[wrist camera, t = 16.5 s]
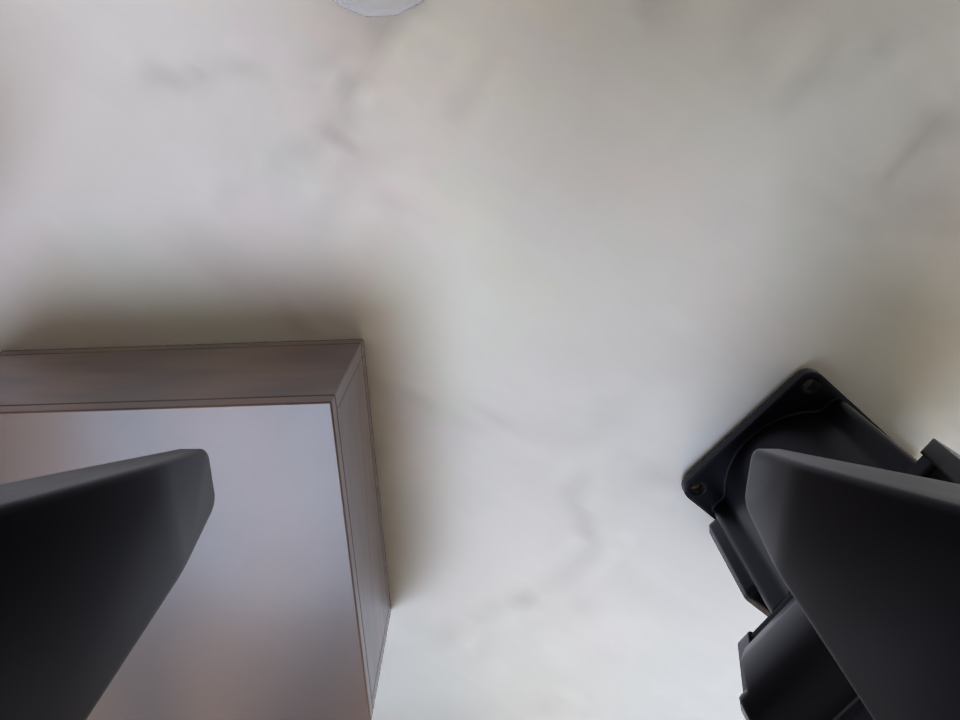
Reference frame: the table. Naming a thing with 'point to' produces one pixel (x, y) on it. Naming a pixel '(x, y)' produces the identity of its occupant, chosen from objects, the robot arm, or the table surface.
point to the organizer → (232, 517)
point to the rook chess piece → (377, 6)
